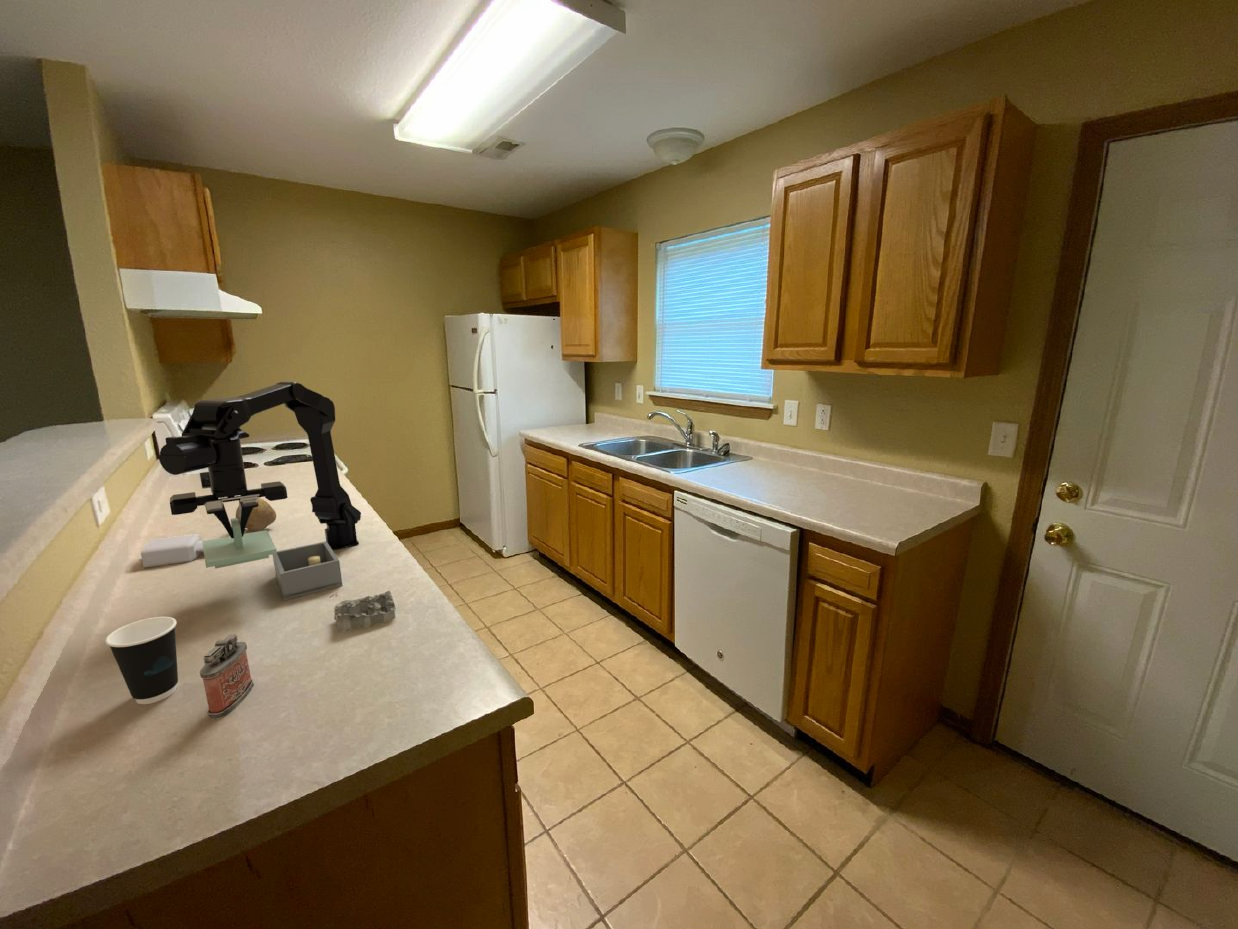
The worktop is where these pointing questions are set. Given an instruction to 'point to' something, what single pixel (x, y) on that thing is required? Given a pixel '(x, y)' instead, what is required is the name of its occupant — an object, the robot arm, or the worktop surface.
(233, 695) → the lighter
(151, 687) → the dixie cup
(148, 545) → the charger
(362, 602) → the egg carton
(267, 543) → the lid
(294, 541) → the worktop surface
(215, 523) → the worktop surface
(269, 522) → the brown potato
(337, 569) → the tub
